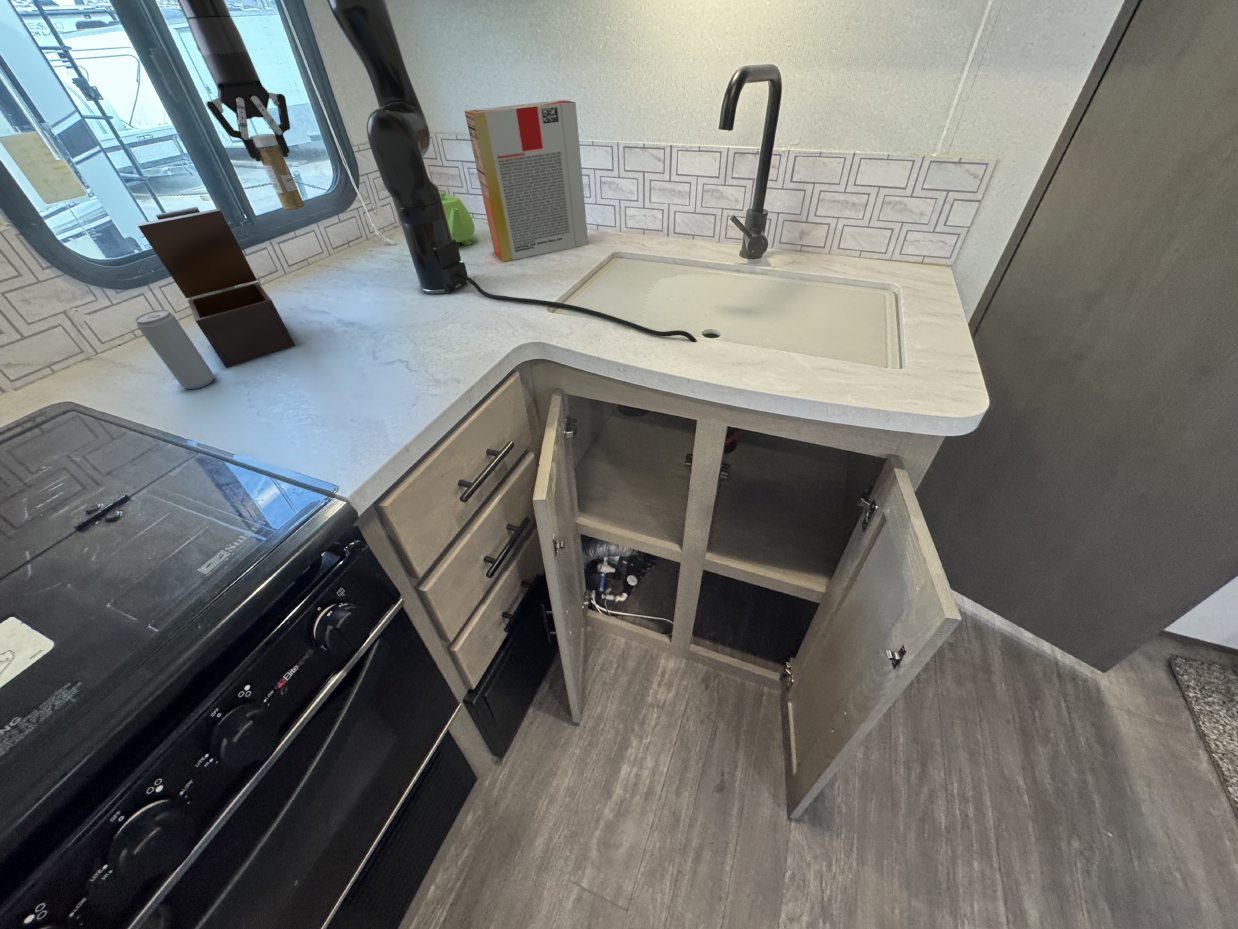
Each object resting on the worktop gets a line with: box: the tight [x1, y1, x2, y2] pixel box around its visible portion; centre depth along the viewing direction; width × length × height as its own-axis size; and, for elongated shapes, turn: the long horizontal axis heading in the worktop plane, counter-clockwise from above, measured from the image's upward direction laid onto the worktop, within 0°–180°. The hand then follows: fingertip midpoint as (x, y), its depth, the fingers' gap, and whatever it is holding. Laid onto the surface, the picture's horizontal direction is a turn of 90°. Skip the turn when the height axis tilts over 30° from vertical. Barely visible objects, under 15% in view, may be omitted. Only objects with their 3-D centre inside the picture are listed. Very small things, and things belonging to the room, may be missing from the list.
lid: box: [136, 206, 258, 299], centre depth 87 cm, size 13×12×6 cm
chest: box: [187, 281, 296, 368], centre depth 91 cm, size 13×12×9 cm
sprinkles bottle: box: [249, 133, 306, 211], centre depth 104 cm, size 5×5×13 cm
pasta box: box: [464, 99, 589, 263], centre depth 118 cm, size 23×8×30 cm, turn 116°
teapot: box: [439, 190, 476, 246], centre depth 132 cm, size 20×13×13 cm
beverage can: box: [134, 309, 215, 390], centre depth 80 cm, size 5×5×12 cm
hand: (272, 158), depth 102 cm, fingers closed on sprinkles bottle, 4 cm apart
